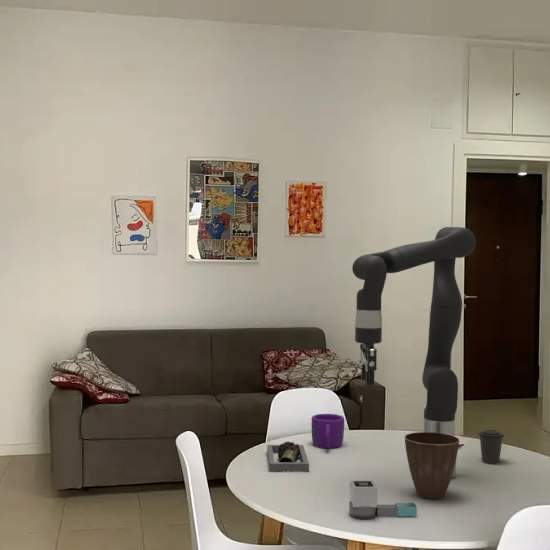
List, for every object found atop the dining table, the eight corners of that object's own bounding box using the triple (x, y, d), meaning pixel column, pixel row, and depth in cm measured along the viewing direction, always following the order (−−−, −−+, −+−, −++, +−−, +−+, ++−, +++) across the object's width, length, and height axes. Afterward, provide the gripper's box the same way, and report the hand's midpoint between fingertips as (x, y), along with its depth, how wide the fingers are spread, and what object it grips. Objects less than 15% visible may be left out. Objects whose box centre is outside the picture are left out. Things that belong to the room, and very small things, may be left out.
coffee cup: (500, 459, 251) (501, 428, 251) (505, 465, 243) (506, 434, 243) (475, 458, 252) (476, 427, 252) (479, 464, 244) (480, 433, 244)
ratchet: (412, 510, 200) (412, 479, 199) (418, 519, 193) (418, 488, 192) (347, 510, 199) (347, 479, 199) (351, 519, 192) (351, 488, 192)
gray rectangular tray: (302, 452, 257) (303, 444, 256) (308, 471, 234) (308, 463, 233) (267, 452, 256) (267, 444, 256) (269, 471, 233) (269, 463, 233)
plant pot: (400, 486, 220) (401, 431, 220) (452, 487, 220) (453, 432, 219) (407, 503, 205) (408, 444, 205) (463, 504, 205) (464, 445, 204)
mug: (311, 440, 272) (312, 413, 272) (343, 441, 272) (344, 413, 271) (310, 453, 255) (310, 423, 255) (344, 454, 254) (344, 424, 254)
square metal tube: (372, 499, 199) (373, 480, 198) (376, 507, 193) (377, 487, 192) (349, 499, 198) (350, 480, 198) (353, 507, 192) (353, 487, 192)
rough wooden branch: (294, 471, 235) (294, 453, 235) (272, 470, 236) (272, 452, 236) (301, 456, 252) (301, 439, 252) (281, 455, 253) (281, 438, 253)
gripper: (386, 328, 210) (385, 387, 211) (377, 323, 225) (376, 378, 225) (359, 328, 210) (358, 386, 211) (351, 323, 224) (350, 378, 225)
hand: (367, 382), depth 218 cm, fingers open, 8 cm apart
